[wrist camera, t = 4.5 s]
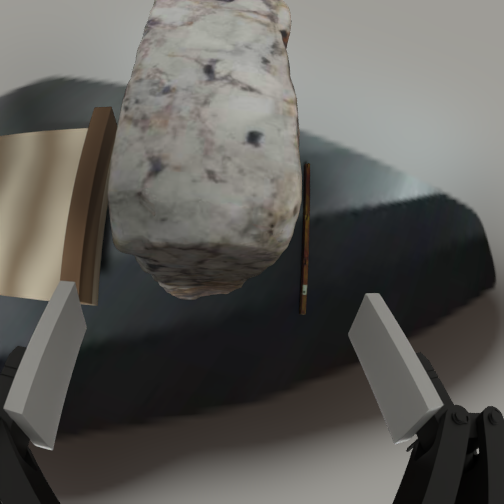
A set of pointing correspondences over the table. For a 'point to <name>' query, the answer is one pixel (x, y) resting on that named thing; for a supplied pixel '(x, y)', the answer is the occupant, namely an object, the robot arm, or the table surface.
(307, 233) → the dark brown thin bar
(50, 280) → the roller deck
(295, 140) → the stone block
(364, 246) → the table surface
